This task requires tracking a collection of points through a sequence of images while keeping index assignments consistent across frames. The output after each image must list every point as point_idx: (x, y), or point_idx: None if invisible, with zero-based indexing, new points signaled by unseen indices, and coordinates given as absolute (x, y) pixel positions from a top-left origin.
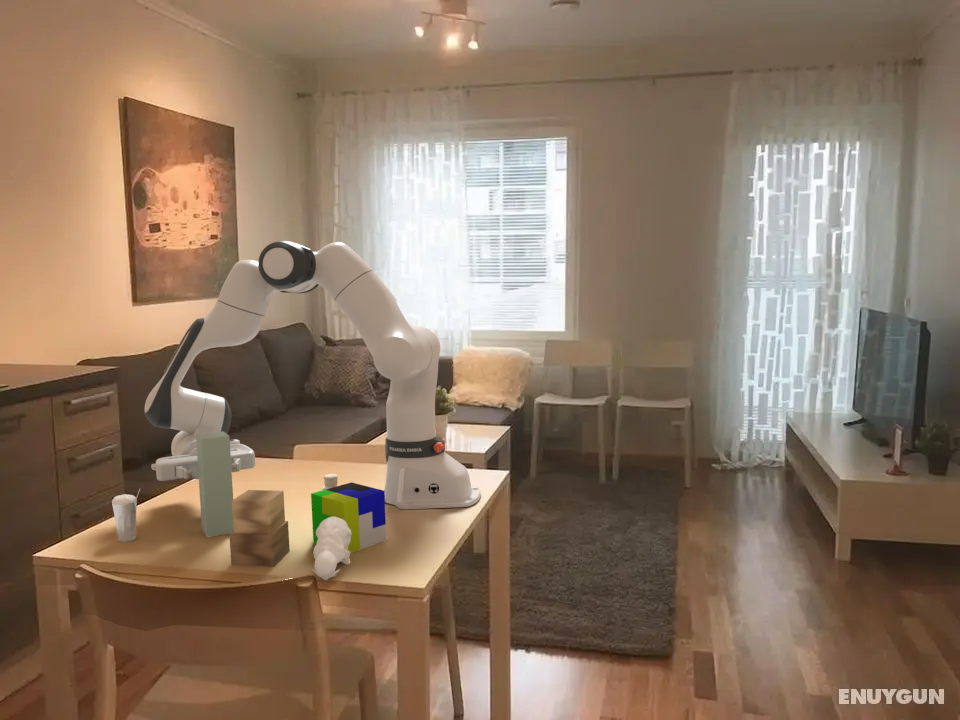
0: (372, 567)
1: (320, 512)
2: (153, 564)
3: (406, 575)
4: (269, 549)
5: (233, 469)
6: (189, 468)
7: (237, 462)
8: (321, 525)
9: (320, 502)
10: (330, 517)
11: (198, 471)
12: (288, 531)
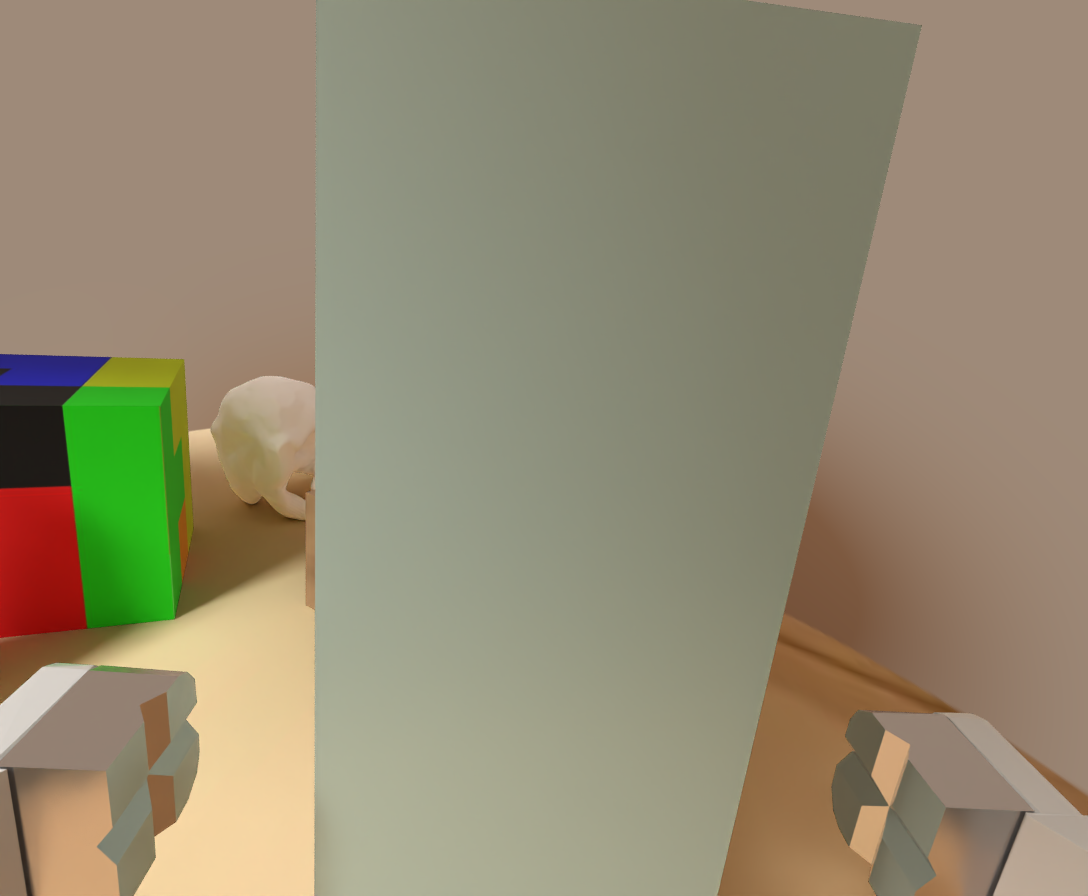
0: (224, 475)
1: (173, 459)
2: (832, 722)
3: (211, 443)
4: None
5: (179, 735)
6: (965, 805)
7: (13, 702)
8: (310, 394)
9: (170, 417)
10: (269, 381)
11: (752, 695)
12: (306, 531)
